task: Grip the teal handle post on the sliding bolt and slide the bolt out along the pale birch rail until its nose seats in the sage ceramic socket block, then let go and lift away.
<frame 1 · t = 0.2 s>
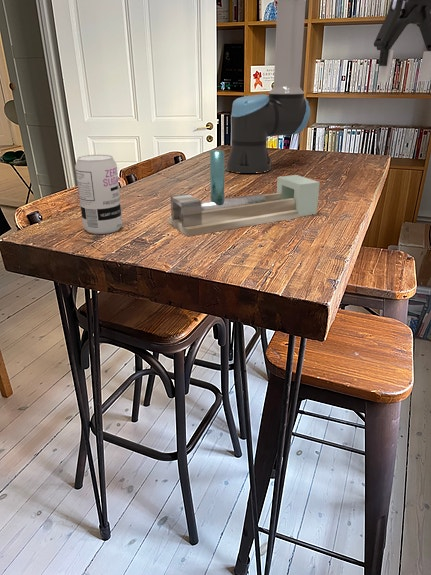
hand: (404, 81, 107), 28 cm above the table, fingers open, 13 cm apart
rail: (242, 219, 102), on the table
socket: (296, 210, 108), on the table
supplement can: (103, 229, 97), on the table
sliding bolt: (223, 183, 97), point 9 cm above the table, slide at 0.0 cm
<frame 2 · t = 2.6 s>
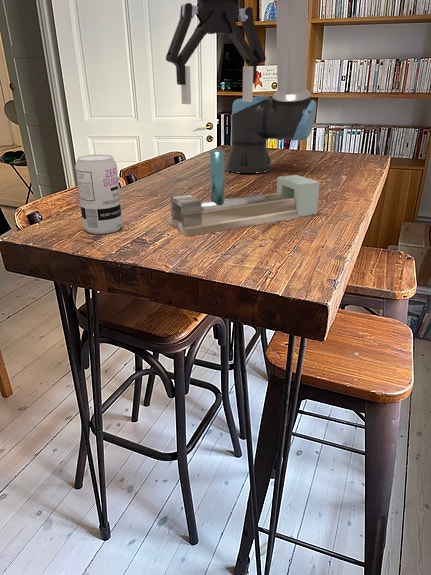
hand: (217, 103, 89), 25 cm above the table, fingers open, 13 cm apart
nothing on the table moved.
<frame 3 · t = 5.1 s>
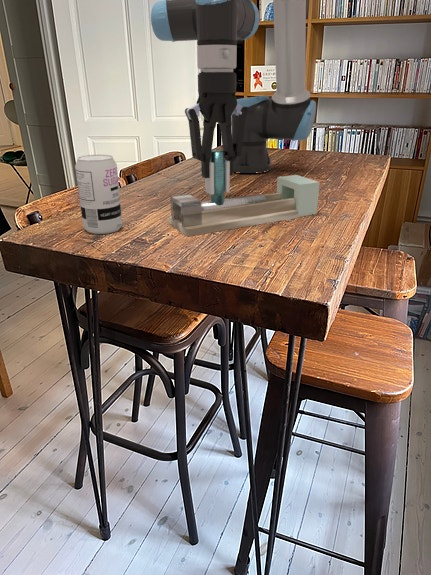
hand: (217, 191, 97), 7 cm above the table, fingers closed on sliding bolt, 3 cm apart
sliding bolt: (223, 183, 97), point 9 cm above the table, slide at 0.0 cm, touching gripper
everything else where it was.
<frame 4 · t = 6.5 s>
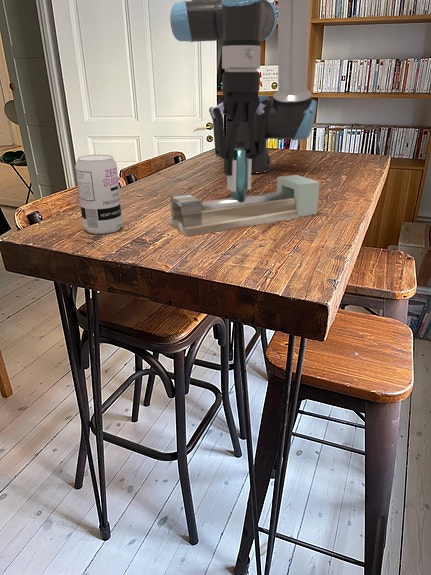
hand: (239, 189, 99), 7 cm above the table, fingers closed on sliding bolt, 3 cm apart
sliding bolt: (245, 181, 99), point 9 cm above the table, slide at 5.3 cm, touching gripper
everything else where it was.
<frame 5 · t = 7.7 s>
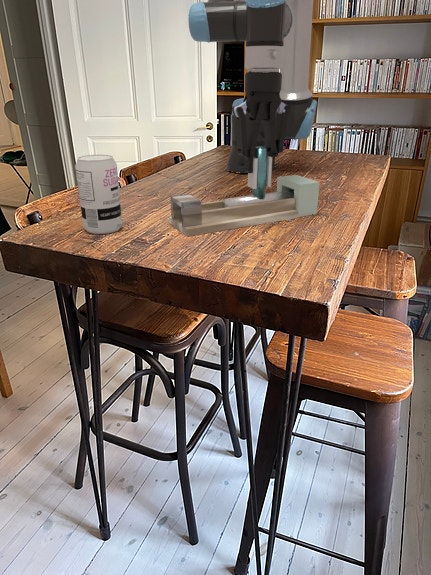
hand: (259, 186, 101), 7 cm above the table, fingers closed on sliding bolt, 3 cm apart
sliding bolt: (265, 178, 101), point 9 cm above the table, slide at 10.6 cm, touching gripper
everything else where it was.
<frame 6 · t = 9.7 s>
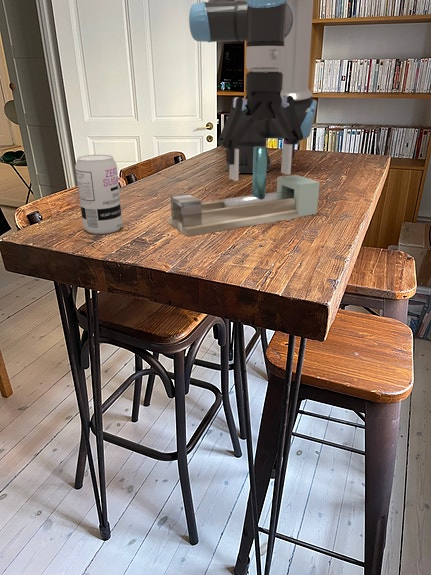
hand: (260, 176, 100), 9 cm above the table, fingers open, 13 cm apart
sliding bolt: (265, 178, 101), point 9 cm above the table, slide at 10.5 cm
everything else where it was.
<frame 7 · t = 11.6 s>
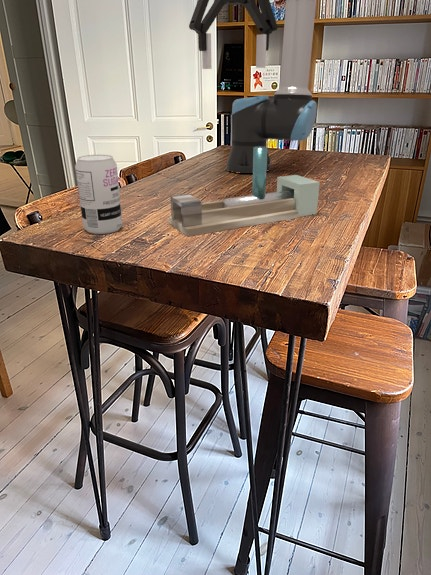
hand: (234, 68, 98), 31 cm above the table, fingers open, 13 cm apart
nothing on the table moved.
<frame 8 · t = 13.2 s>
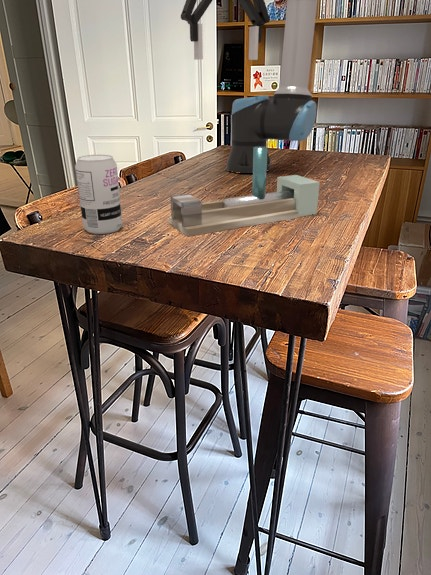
hand: (226, 59, 99), 33 cm above the table, fingers open, 13 cm apart
nothing on the table moved.
at the end: sliding bolt slide at 10.5 cm; the gripper is holding nothing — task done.
